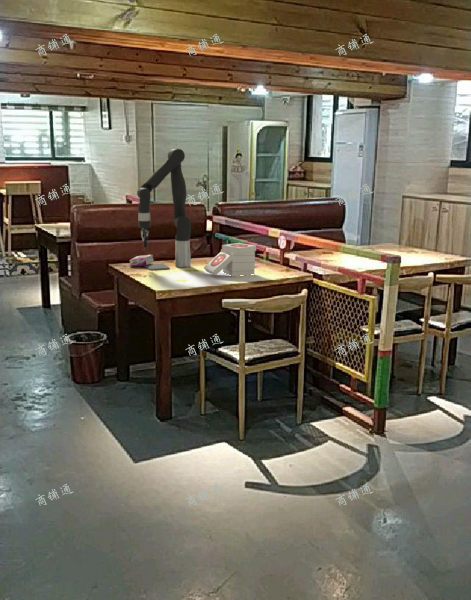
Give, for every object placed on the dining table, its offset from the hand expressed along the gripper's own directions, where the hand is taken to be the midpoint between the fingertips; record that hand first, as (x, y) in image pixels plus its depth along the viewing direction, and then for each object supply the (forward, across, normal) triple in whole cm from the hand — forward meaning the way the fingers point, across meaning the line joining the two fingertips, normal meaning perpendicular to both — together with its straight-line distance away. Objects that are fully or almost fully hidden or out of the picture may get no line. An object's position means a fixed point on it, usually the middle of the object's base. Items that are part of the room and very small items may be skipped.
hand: (145, 247), depth 398 cm
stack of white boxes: (+15, -35, -45) cm, 59 cm away
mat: (+14, 0, -7) cm, 16 cm away
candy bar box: (+10, +3, +4) cm, 12 cm away
